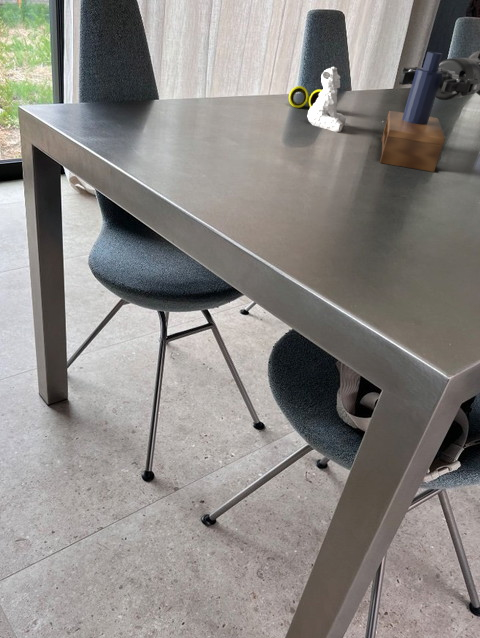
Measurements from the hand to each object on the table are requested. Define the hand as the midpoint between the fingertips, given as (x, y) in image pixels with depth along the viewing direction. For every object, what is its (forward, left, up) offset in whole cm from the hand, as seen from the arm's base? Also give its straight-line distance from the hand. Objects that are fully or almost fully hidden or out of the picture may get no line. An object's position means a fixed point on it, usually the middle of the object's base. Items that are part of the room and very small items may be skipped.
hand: (422, 82), depth 107 cm
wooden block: (-1, 0, -13) cm, 13 cm away
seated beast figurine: (+17, -15, -13) cm, 26 cm away
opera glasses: (+23, -33, -13) cm, 42 cm away
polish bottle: (-1, -2, -7) cm, 7 cm away
